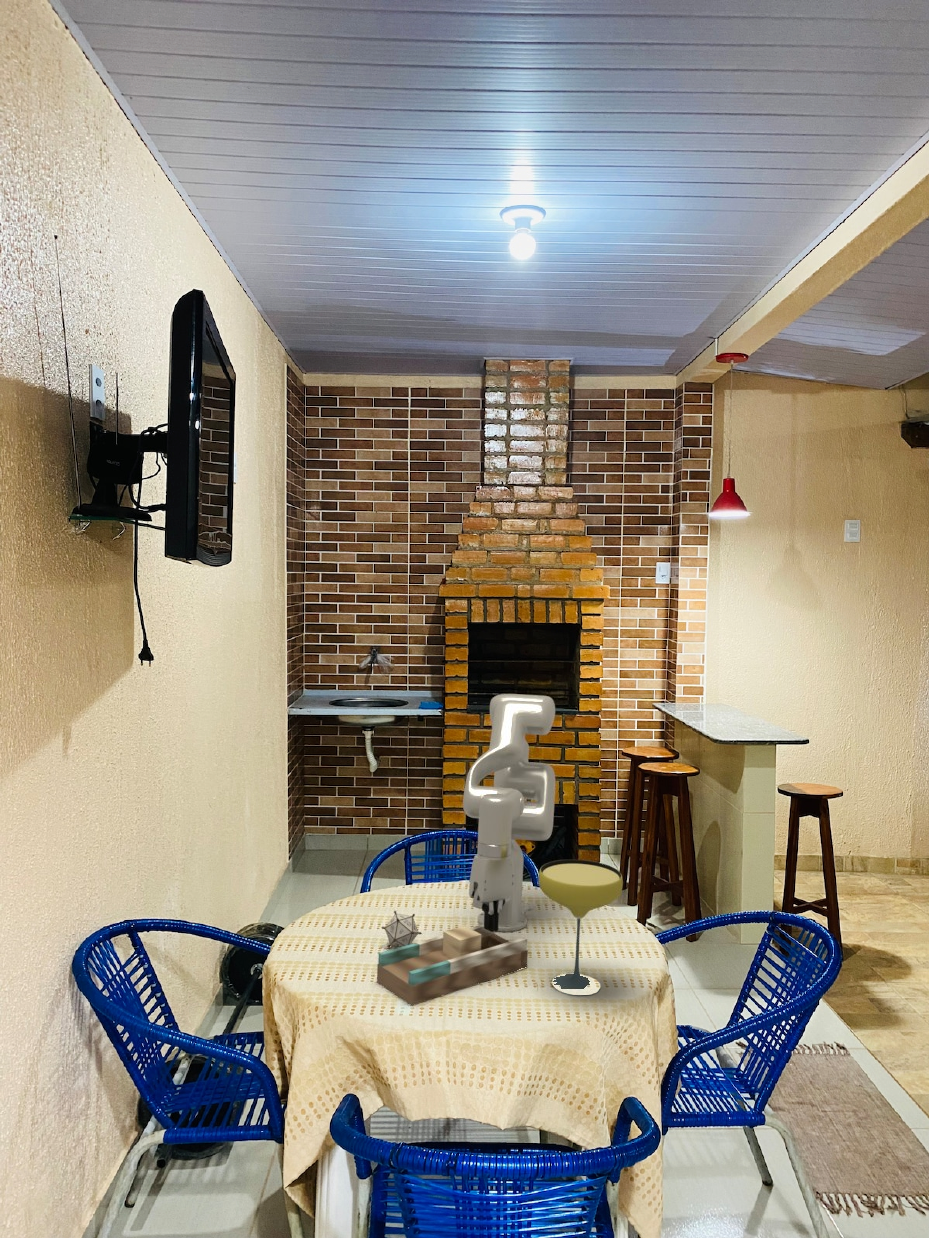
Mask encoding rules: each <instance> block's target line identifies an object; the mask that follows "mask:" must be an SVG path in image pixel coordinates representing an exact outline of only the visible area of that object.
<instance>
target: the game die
mask: <svg viewBox="0 0 929 1238" xmlns="http://www.w3.org/2000/svg"><path fill="white" fill-rule="evenodd" d="M393 914H394V915H393V916H392V917H391V919H390V920H389V921H388V922H387V924H386V925H385V926H382V927H380V928H381V929H382V930H385V933H386V935H387V938H388V941H389V944H388V949H389V948H391V947H392V946H396V947H403V946H407V945H410V944H413V941H414V940H415V939H416V937H417V936H418V935H422V931H419V930H418V927H417V925H416V922H415V919H414V917H415V916H416V914H415V913H413V914H412V915H408V914H407V915H406V914H400V913H397V911H396V910H394V911H393Z"/></svg>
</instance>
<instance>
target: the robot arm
mask: <svg viewBox="0 0 929 1238" xmlns="http://www.w3.org/2000/svg"><path fill="white" fill-rule="evenodd" d="M489 717H490V724H491V734H490V742H489V747H488V748H489V749H488V750H487V751H486V752H484V753H483V754H481V756H479V757H478V758H477V759H476V760H475V762H474V763H473V764H472V765H471V767H470V768H469V771H468V773H467V776H466V780H465V784H464V785H465V786H464V790H463V791H464V792H463V797H462V798H463V799H462V807H463V808H462V809H463V811H464V814H466V816H467V817H470V818H472V819H478V828H477V830H478V832H477V833H478V834H477V854H475V855H474V858H473V859H472V864H471V871H470V877H469V889H468V895H469V898H471V899H472V904H471V906H472V907H474V908H475V909H481V911H482V912H481V913H480V914H478V916H477V923H478V924H479V925H483V924H484V929H486V930H488V931H490V932H494V931H495V932H515V931H519V930H522V929H524V928H525V927H526V926H527V924H528V918H527V917H526V915H525V914H526V913H527V912H530V911H533V910H535V909H536V905H535V903H534V902H533V901H531V902H527V903H525V902H524V901H523V880H524V879H523V878H524V877H523V876H524V874H523V873H524V854H523V851H522V849H521V847H520V845H519V844H518V842H517V841H516V840H527V841H542V842H543V841H547V840H548V839H549V838H551V835H552V832H553V829H554V828H553V827H554V816H555V815H554V813H555V799H556V798H555V796H556V775H555V770H554V769H553V767H552V766H551V765H550V764H547V763H545V762H531V761H530V762H529V755H530V754H529V753H530V746H529V743H528V741H527V740H526V735H536V736H537V735H538V736H543V735H544V736H545V735H548V734H549V733H550V731H551V729H552V726H553V724H554V721H555V717H556V705H555V701H554V699H553V698H552V697H550V696H547V695H536V694H535V695H533V694H517V693H501V694H497V695H495V696H494V697H492V698H491V700H490V703H489ZM491 774H493V775H494V776H493V778H494V779H493V786H487V785H485V786H483V785H479V783H480V782H481V781H482V780H483V779H484V778H485V777H487V776H489V775H491ZM528 800H532V801H528ZM533 800H534V801H533Z"/></svg>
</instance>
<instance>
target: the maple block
mask: <svg viewBox="0 0 929 1238" xmlns="http://www.w3.org/2000/svg"><path fill="white" fill-rule="evenodd" d="M470 928H471V927H468V926H465V925H463V926H459V927H455V928H452V929H448V930H443V933H442V934H443V935H442V936H443V954H444V955H446V956H448V957H450V958H451V959H454V958H457V957H460V956H464V955H467V954H470V953H474V952H477V951H480V950H481V934H479V933H478V932H476V931H474V930H472V929H470Z"/></svg>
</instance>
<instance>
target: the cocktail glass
mask: <svg viewBox="0 0 929 1238" xmlns="http://www.w3.org/2000/svg"><path fill="white" fill-rule="evenodd" d="M538 885H539V888H540V890H541V891H542V893H543V894H544V895H546V896H547V898H549V899H550V900H551V901H553V902H555V903H556V904H558V905H561V906H562V907H565V908H566V909H568V910H569V911H570V912H571V914H572V916H573V917H574V918H576V919H577V920H576V922H577V923H576V941H575V942H576V946H575V959H574V960H575V961H574V962H575V963H574V970H573V973H574V974H566V975H565V976H560V977H556V978H554V977H553V978H554V979H556V980H554V981H553V982H557V983H556V984H554V985H560V986H561V989H584V988H585V987H586V986H587V985H590V984H589V982H590V981H589V980H588V978H586V977H583V976H580V974H581V973H580V963H579V962H580V937H581V936H580V935H581V932H580V931H581V919H583V918H584V917H585V916H586V915H587V914H589V913H590V911H592V910H596V909H598V908H602V907H605V906H608V905H610V904H611V903H612V902H614V901H616V900H617V899H618V898H619V897H620V896H621V894H622V891H623V885H624V881H623V875H622V873H621V871H620V870H619V869H617V868H615V867H613V866H611V865H608V864H605V863H602V862H598V861H593V860H588V859H587V860H585V859H584V860H583V859H560V860H559V859H558V860H553V861H549V862H547V863H544V864H543V865H542V866H541V867H540V869H539V871H538Z"/></svg>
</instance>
